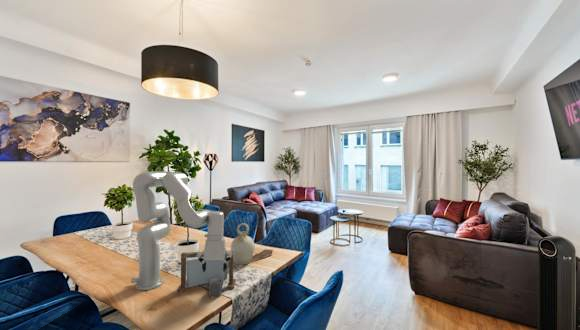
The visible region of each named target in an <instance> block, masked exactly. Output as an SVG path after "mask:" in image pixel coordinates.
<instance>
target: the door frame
mask: <svg viewBox="0 0 580 330" xmlns="http://www.w3.org/2000/svg"><path fill="white" fill-rule="evenodd" d="M228 251H229V252H231V253H233V250H232V251H231V250H228ZM200 252H201V251H193V252H192V251H190V252H189V251H188V252H182V253H180V284H179V286H178V288H177V289H176V293H185V290H186V289H187V259H194V258H198V257H197V254H198V253H200ZM225 256H228V257H229V255H228V254H226V255H225ZM201 257H204V254H203V255H201ZM236 281H237V279H236V278H234V261H233V255H232V257H231V258H230V260H229V261H228V288H227V289H228V290H234V289H235V288H236V287H235V286H236Z"/></svg>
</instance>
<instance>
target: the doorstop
mask: <svg viewBox="0 0 580 330" xmlns="http://www.w3.org/2000/svg"><path fill="white" fill-rule="evenodd" d="M224 282H225V278H224V277H219V278H211V281H210V282H209V283H208V284H209V285H208V298H215V297H216V298H217V297H220V296H221V293H222V290H223V285H224Z"/></svg>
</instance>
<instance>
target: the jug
mask: <svg viewBox="0 0 580 330" xmlns="http://www.w3.org/2000/svg"><path fill="white" fill-rule="evenodd" d="M242 226H244V227H245V228H246V231H245V230H241V231H240V228H241V227H242ZM236 227H237V228H236V232H237V233H238V236H237V237H236V236H235V238H234V239H233V240H232V241H231V245H230V251H232V250H233V264H234V263H235V264H237V265H246V264H250V263H251V261H252V258H253V256H254V254H255V242H254V239H253V238H252V237H251V236H249V235H247V234H248V233H249V229H250V228H249V225H248V224H247V223H244V222H242V223H240V224H238V226H236Z"/></svg>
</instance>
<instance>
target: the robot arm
mask: <svg viewBox="0 0 580 330" xmlns="http://www.w3.org/2000/svg"><path fill="white" fill-rule="evenodd" d="M188 183H189V178H188V176H187V174H186V173H184V172H180V171H178V172H176V171H166V170H165V171H158V170H157V171H144V172H141V173H139V174H138V175H136V176H135V177H134V179H133V181H132V189H133V193H134V196H135V205H136V213H137V218H138V221H139V222H140V223H142V224H146V223H150V224H147V225H144V226H142V227H141V228H140V229H139V230H138V231H137V233H136V240H137V245H138V276H132V277H131V278H130V283H131V284H132V283H133V284H134V283H136V284H135V285H134V288H135V290H137V291H141V292H142V291H149V290H153V289H155V288H158V287H159V286H161V285H162V284H163V283H164V278H163V277H160V276H161V249H160V245H159V244H158V241H159V240H162V239H165V238H166V237H168V236H169V234H170V233H171V221H170V213H169V208H168V206H167V205H166V204H165V203H164V202H161V201H160V202H159V201H158V202H156V198H155V197H156V196H155V194H154V192H153V191H152V190H151V188H160V187H164V188H165V190H166V191H167V192H168V193H169V195H170V196H172V198H173V199H174V201H175V202H176V203H177V211H178V214H179V216H180V218H181V219H182V221H183V222H184V223H185V224H186V225H187V226H188V227H190V228H191V229H199V228H202V227H204V226H206V225H207V233H206V234H204V238H206V239H205V243H204V247H203V248H204V249H203V251H199V252H200V253H198V254H197V257H196V258H198V259H199V261H200V262H201V263H202V270H203V272H205V270H206V261H222V260H223V262H224V264H223V271H225V269H227V270H228V266H227V262H228V263H229V260H230V258H231V257H232V255H233V253H231V252H229V251H230V250H227V249H226V239H225V238H224V230H225V229H224V228H225V227H224V225H225V224H224V223H225V215H224V212H223V211H219V210H216V211H214V210H210V209H202V210H198V211H195V209H194V208H193V207H192V205H191V203H190V199H191V197H192V196H193V192H192V190H191V189H190V188H189V186H188ZM152 222H153V223H152ZM203 254H204V259H203V258H202V257H201V255H203ZM226 254H228V255H229V256H228V258H226V257H225V255H226Z"/></svg>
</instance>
